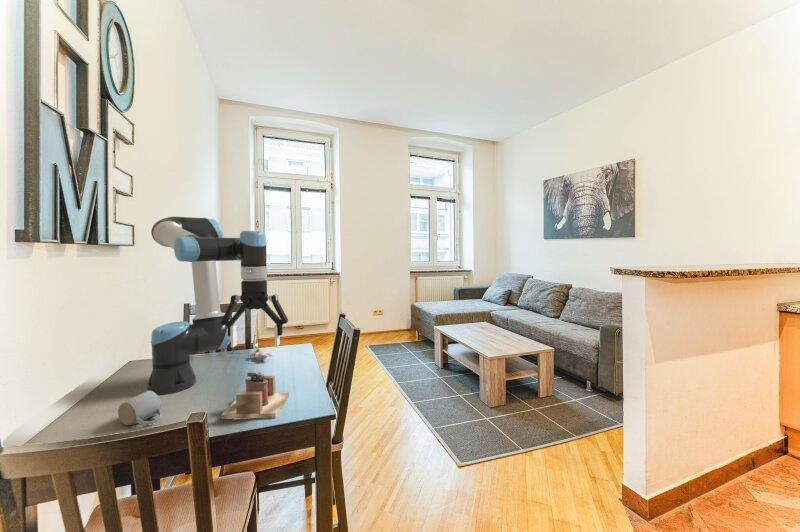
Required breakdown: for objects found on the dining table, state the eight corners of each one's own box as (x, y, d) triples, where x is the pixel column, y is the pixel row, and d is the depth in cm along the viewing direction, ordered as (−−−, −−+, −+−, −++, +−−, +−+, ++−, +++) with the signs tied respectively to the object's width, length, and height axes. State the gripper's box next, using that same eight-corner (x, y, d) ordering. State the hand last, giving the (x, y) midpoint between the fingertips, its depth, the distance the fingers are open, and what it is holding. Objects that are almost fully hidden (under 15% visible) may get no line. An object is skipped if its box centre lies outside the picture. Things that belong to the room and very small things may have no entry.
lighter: (270, 402, 111) (270, 372, 111) (263, 407, 108) (262, 375, 107) (251, 399, 114) (250, 369, 113) (243, 403, 111) (242, 372, 110)
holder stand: (221, 419, 103) (220, 395, 103) (241, 398, 118) (240, 376, 118) (275, 418, 104) (275, 393, 104) (288, 396, 119) (288, 375, 119)
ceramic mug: (116, 425, 100) (115, 399, 100) (144, 412, 108) (143, 388, 108) (142, 431, 97) (141, 404, 97) (169, 417, 105) (169, 393, 104)
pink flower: (245, 362, 160) (265, 362, 153) (243, 349, 161) (264, 348, 153) (256, 358, 166) (277, 358, 158) (255, 346, 166) (275, 345, 158)
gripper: (207, 281, 104) (209, 349, 106) (291, 280, 106) (292, 348, 107) (219, 278, 112) (220, 343, 113) (296, 278, 113) (297, 341, 115)
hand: (255, 345), depth 110 cm, fingers open, 13 cm apart
